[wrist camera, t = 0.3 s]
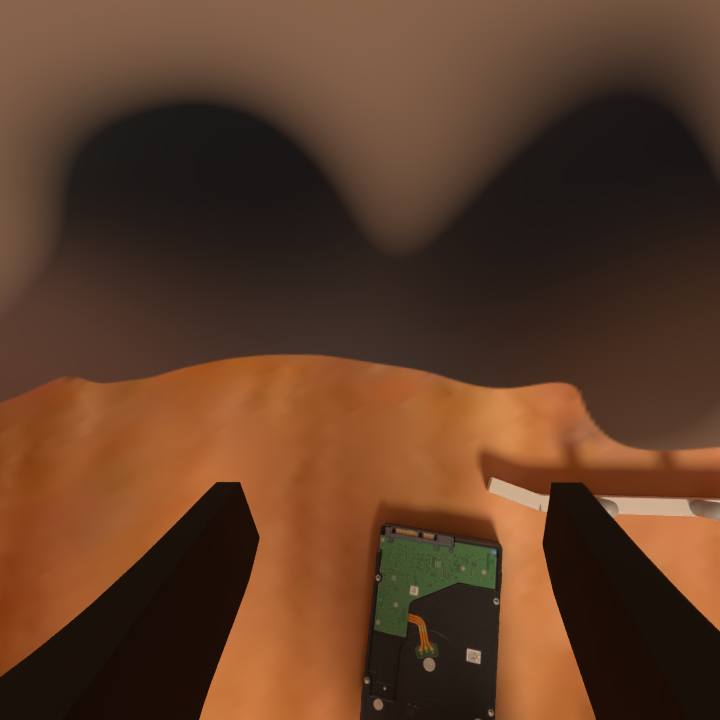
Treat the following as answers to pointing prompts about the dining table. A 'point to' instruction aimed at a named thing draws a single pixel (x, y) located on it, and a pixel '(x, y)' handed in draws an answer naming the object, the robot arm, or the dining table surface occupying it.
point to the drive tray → (618, 502)
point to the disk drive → (433, 627)
